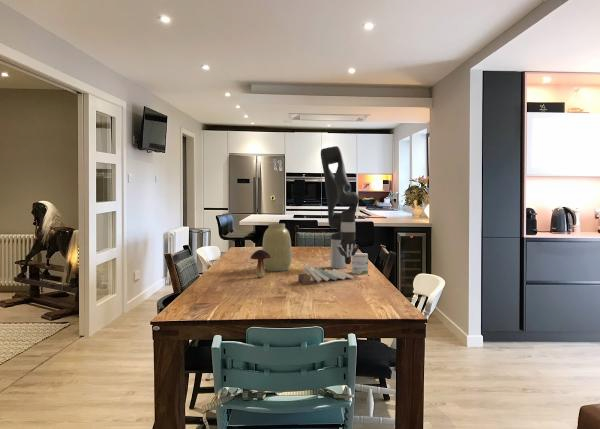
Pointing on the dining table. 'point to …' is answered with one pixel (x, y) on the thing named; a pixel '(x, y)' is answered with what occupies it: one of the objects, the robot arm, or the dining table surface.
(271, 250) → the vase
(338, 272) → the domino
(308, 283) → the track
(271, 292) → the dining table surface
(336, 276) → the domino
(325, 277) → the domino
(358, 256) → the ink box
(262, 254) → the decorative mushroom
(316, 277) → the domino
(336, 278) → the domino
